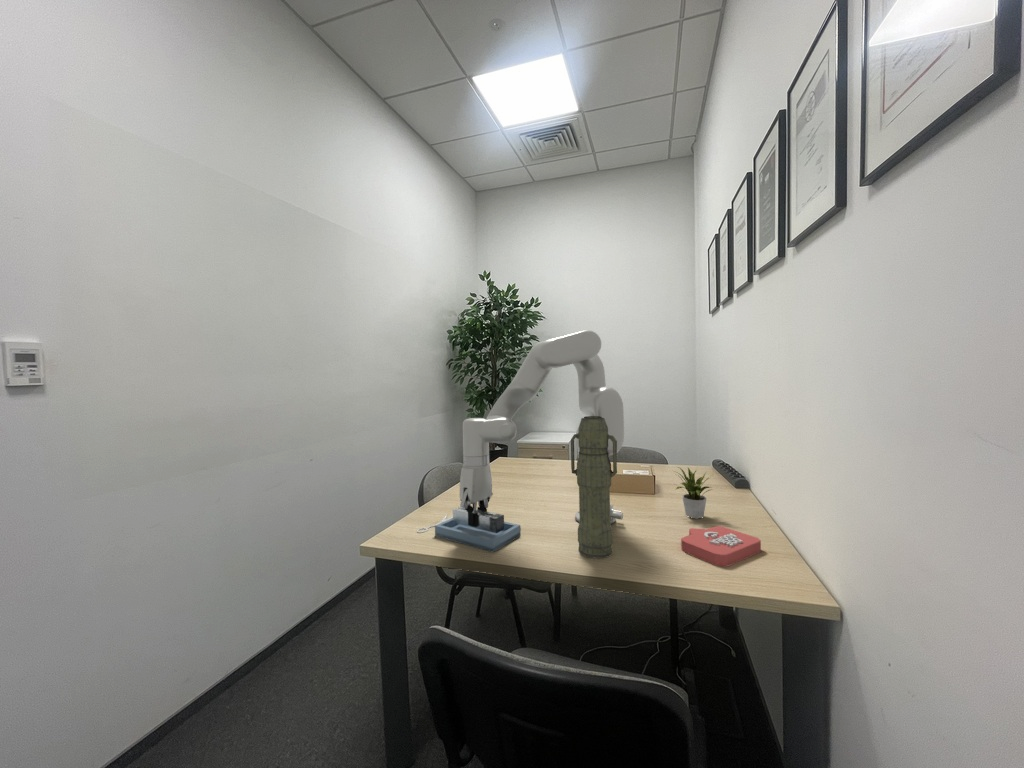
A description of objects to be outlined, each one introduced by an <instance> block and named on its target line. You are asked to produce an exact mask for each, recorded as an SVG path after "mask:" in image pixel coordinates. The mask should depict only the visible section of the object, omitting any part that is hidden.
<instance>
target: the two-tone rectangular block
mask: <svg viewBox="0 0 1024 768" xmlns="http://www.w3.org/2000/svg"><path fill="white" fill-rule="evenodd" d="M476 513H478V527H473V526H469V525H468V512H466V509H465V508H463V507H461V506H460V505H459V506H458V507H457V508H456V507H455V508H452V516H453V523H457V524H461V525H465V526H469V527H473V528H477V529H481V530H485V531H489V532H493V533H498V532H500V531H502V530H504V522H505V515H504V514H501V513H496V512H491V511H488V510H487V511H482V510H477V508H476Z"/></svg>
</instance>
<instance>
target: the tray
mask: <svg viewBox="0 0 1024 768" xmlns="http://www.w3.org/2000/svg"><path fill="white" fill-rule="evenodd" d="M450 518H451V517H450ZM448 519H449V518H448ZM446 520H447V519H446ZM434 525H435V524H434ZM521 535H522V534H521V524H517V523H513V522H509V521H504V530H502V531H500V532H498V533H493V532H489V531H485V530H481V529H477V528H473V527H469V526H465V525H461V524H457V523H453V518H451V519H449V520H447V521H445V522H442V523H440V524H438V525H435V526H434V536H435V537H437V538H441V539H445V540H449V541H452V542H455V543H459V544H463V545H466V546H469V547H473V548H476V549H481V550H484V551H487V552H491V553H495V552H496V551H498V550H500V549H501V548H503V547H505V546H506V545H508V544H509V543H510V542H512V541H514V540H516V539H518V538H519V537H520V536H521Z"/></svg>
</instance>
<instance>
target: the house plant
mask: <svg viewBox="0 0 1024 768" xmlns="http://www.w3.org/2000/svg"><path fill="white" fill-rule="evenodd" d="M675 466H676V465H675ZM676 467H677V468H678V469H680V471H681V473H682V474H681V473H679V472H678V471H674V470H673V473H677V475H679V476H680V477H681V478H680V480H682V482H681V483H680V484H681V486H679V485H677V484H675V483H674V485H676V486H677V487H675V491H676V490H679V489H682V491H683V492H685V494H683V495H682V496H681V497H682V501H683V508H684V512H685V516H686V515H687V516H689V517H692V518H702V517H703V518H704V516H705V510H706V503H707V497H706V496H704V494H705V493H707V492H709V491H710V488H711V489H712V488H713V487H712V486H703V485H704V484H705V482H706V481H708V480H709V479H710V478H711V477H713V476H715V475H717V473H715V474H712V475H710V476H709V477H707V478H706V479H705V480H704V478H705V476H706V474H707V472H705V473H703V476H699V478H697V479H695V474H696V472H697V470H698V469H697V468H698V467H696V468H695V471H694V472H693V471H692V470H690V467H689V466H687V471H688V472H687V473H688V476H687V474H686V473H685V471H684V470H683V468H681V467H679V466H678V465H677V466H676ZM703 480H704V481H703ZM702 481H703V482H702ZM702 486H703V487H702ZM684 489H686V491H687V492H688V493H687V492H686V491H685V490H684ZM706 489H708V490H706ZM705 490H706V491H705ZM703 491H704V492H703ZM701 493H703V494H702V495H701ZM687 516H686V517H687ZM689 517H688V518H689ZM692 518H691V519H692ZM703 518H702V519H703Z"/></svg>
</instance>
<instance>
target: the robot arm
mask: <svg viewBox="0 0 1024 768" xmlns="http://www.w3.org/2000/svg"><path fill="white" fill-rule="evenodd" d="M601 348H602V339H601V337H600V335H599V334H598V333H597V332H595V331H593V330H590V329H586V330H585V329H584V330H581V331H577V332H574V333H570V334H567V335H564V336H559V337H555V338H550V339H549V338H548V339H547V340H543V341H539V342H537V343H535V344H534V345H533V346H532V347H531V349H530V350H529V352H528V354H527V355H526V356H525V359H524V361H523V362H522V364H521V365H520V367H519V369H518V371H517V372H516V374H515V375H514V378H513V379H512V380H511V382H510V383H509V385H508V386H507V387H506V388H505V389H504V391H503V392H502V394H501V395H500V396H499V397H498V399H497V400H496V401H495V403H494V404H493V406H492V407H491V409H490V411H489V413H488V414H487V416H486V418H485V417H484V418H483V417H471V418H466V419H464V420H463V422H462V453H463V455H462V456H463V458H462V459H463V461H462V462H463V465H462V467H461V469H460V470H461V471H460V477H459V478H460V480H459V501H460V504H459V506H461V507H463V508H465V509H466V512H468V525H469V526H473V527H478V513H476V509H477V510H482V511H487V512H488V508H489V502H490V500H491V498H492V497H493V496H494V495H493V494H494V493H493V479H492V478H493V477H492V471H491V464H490V443H494V444H495V443H497V444H506V443H509V442H512V441H513V440H514V439H515V438H516V436H517V433H518V430H517V429H518V428H517V425H516V423H515V421H513V420H512V419H513V418H514V417H515V415H516V414H517V412H518V411H519V409H521V408H522V407H523V406H524V405H525V404H527V403H529V402H530V401H531V400H533V399H534V398H535V397H537V395H538V394H539V392H540V389H541V388H542V386H543V384H544V383H545V381H546V379H547V377H548V376H549V374H550V372H551V370H552V369H556V368H557V369H558V368H562V367H564V366H565V367H566V366H568V365H569V366H570V365H573V366H574V367H575V369H576V373H577V381H578V385H577V387H578V407H579V411H581V413H583V414H584V415H585V416H600V417H602V418H605V421H606V424H607V427H608V434H609V435H612V436H614V438H615V439H616V440H617V453H618V452H619V451H620V450H621V449H622V447H623V445H624V440H625V421H624V420H625V419H624V417H625V416H624V415H625V414H624V402H623V399H622V396H621V395H620V393H619V392H618V391H617V390H616V389H614V388H612V387H609V386H607V385H606V374H605V367H604V363H603V361H602V359H601V358H600V356H599V355H598V354H599V353H600V351H601ZM578 429H579V426H578V427H577V430H576V433H575V434H578V433H579V431H578ZM575 440H576V449H577V452H578V453H577V454H578V456H579V452H580V447H579V439H577V438H575ZM608 456H613V442H612V441H611V439H608ZM477 505H478V506H477ZM574 517H575V518H574V519H575V520H576V521H577V522H578V523H580V514H579V511H577V512H575V514H574ZM623 519H624V514H623V512H622V511H621V510H615V509H614V505H613V504H610V524H613V523H615V522H616V520H623Z"/></svg>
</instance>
